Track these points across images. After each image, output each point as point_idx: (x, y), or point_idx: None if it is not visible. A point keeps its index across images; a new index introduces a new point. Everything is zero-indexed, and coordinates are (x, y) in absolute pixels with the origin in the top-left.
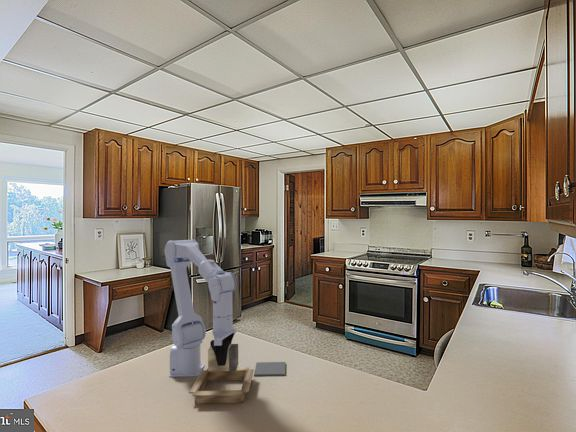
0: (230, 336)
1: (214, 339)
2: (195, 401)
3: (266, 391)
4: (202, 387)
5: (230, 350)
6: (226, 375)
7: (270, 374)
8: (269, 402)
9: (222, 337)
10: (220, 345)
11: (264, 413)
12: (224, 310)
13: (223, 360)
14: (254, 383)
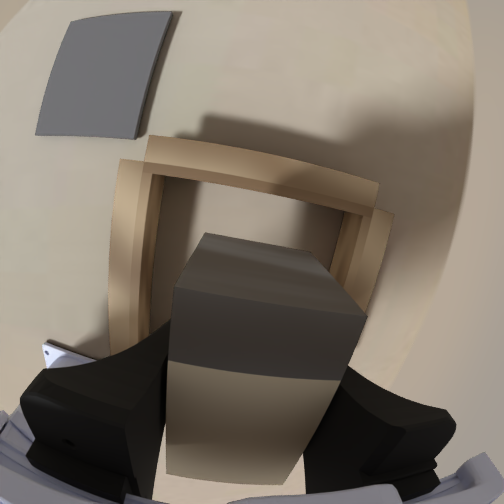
0: (137, 431)
1: None
2: None
3: (286, 96)
4: None
5: (345, 362)
6: (146, 273)
7: (152, 65)
8: (368, 105)
9: (491, 496)
10: (481, 456)
11: (422, 141)
12: None
13: None
14: (200, 138)
